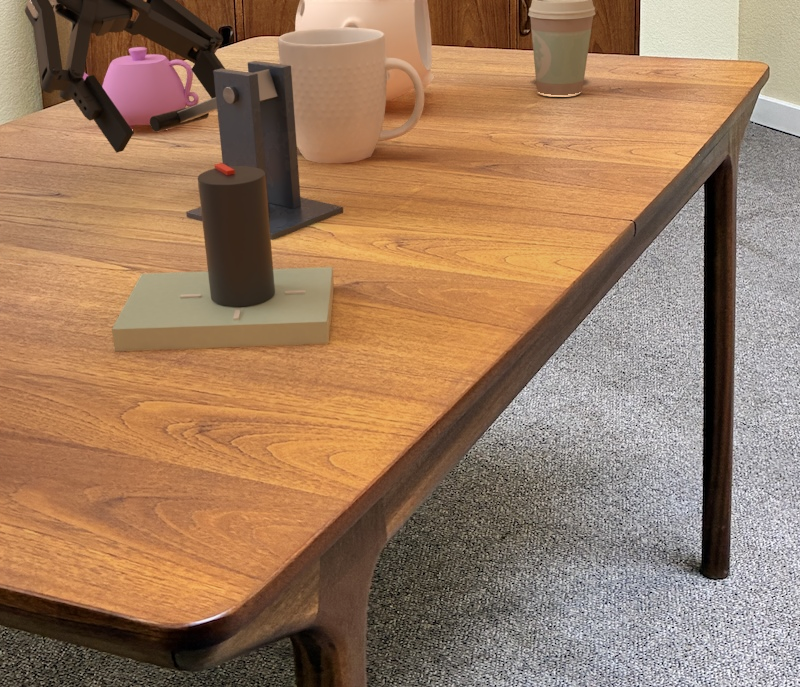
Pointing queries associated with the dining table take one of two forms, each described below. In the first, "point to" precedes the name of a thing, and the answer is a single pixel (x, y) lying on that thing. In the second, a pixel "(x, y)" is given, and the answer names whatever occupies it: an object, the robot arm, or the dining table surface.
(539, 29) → the coffee cup
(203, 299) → the panel
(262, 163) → the bracket
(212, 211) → the program knob
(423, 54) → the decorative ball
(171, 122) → the lever
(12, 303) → the dining table surface
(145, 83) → the teapot
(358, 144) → the mug
